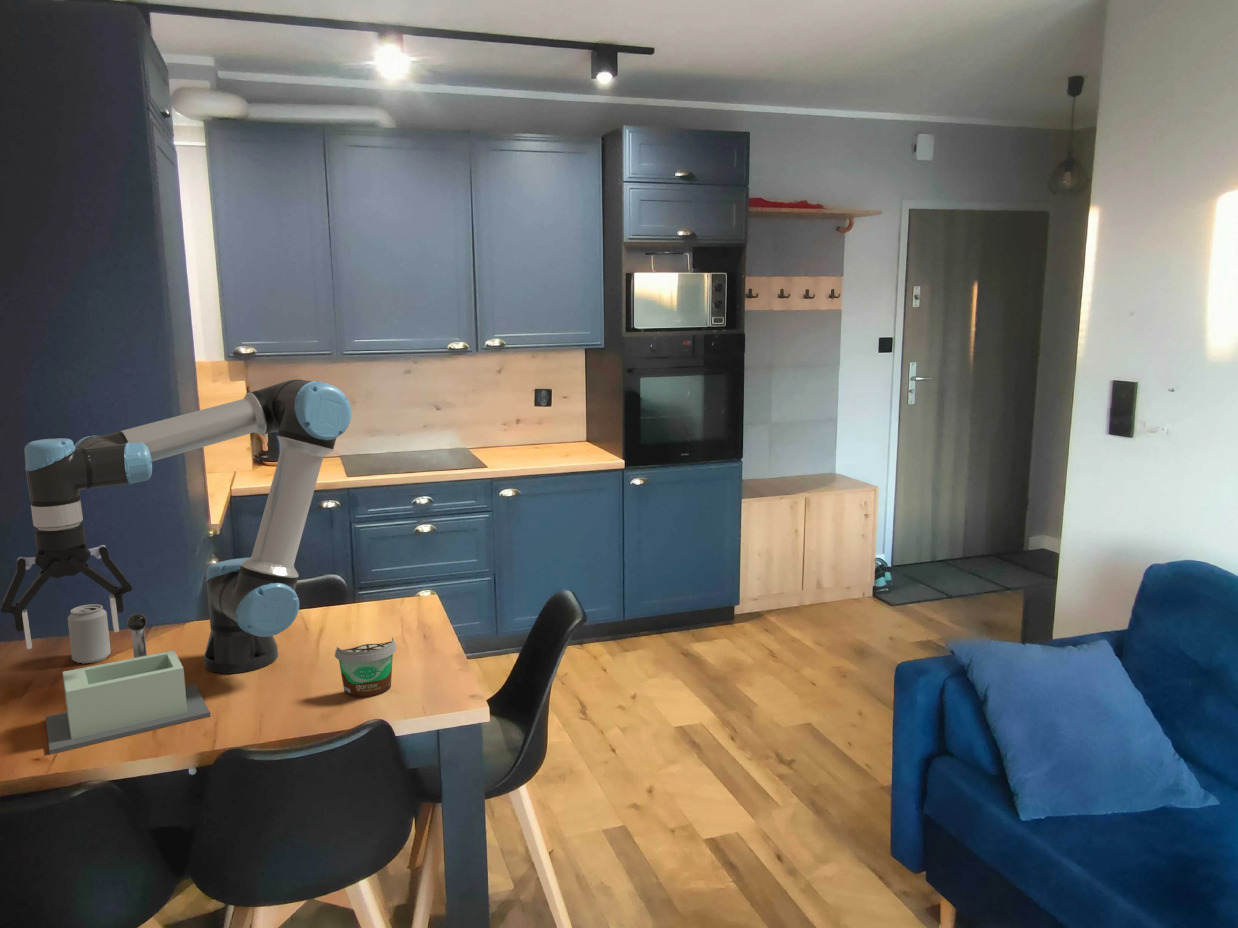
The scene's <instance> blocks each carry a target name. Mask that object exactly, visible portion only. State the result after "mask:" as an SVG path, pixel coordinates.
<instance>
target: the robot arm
mask: <svg viewBox="0 0 1238 928" xmlns="http://www.w3.org/2000/svg"><path fill="white" fill-rule="evenodd" d="M351 419H352V407H351V403H350V401H349V399H348V397H347V396H346V395H345V393H344V392H343V391H342V390H341V389H340V388H338V387H336V386H335V385H332V384H329V383H327V382H325V381H318V380H315V381H314V380H305V379H289V380H285V381H282V382H278V383H277V384H276V383H275V384H273V385H269V386H266V387H263V388H261V389H257V390H253V391H250V392H247V393H245V395H244V397H243V398H242V399H237V400H234V401H230V402H227V403H223V404H219V405H215V406H211V407H208V408H204V409H203V408H202V409H200V410H196V411H195V410H194V411H191V412H188V413H185V414H180V415H177V416H173V417H168V418H165V419H162V420H158V421H153V422H150V423H145V424H141V425H139V426H134V427H131V428H127V429H124V430H120V431H117V432H112V433H108V434H104V435H101V436H100V435H89V436H85V437H83V438H81V439H79V440H78V441H77V442H76V443H75V444H74V441H73V440H72V439H71V438H67V437H66V438H63V437H62V438H60V437H59V438H57V437H56V438H44V439H38V440H32V441H30V442H28V443H27V444H26V445H25V446H24V461H25V466H24V469H25V472H26V473H25V474H26V481H27V486H28V487H27V488H28V493H29V494H28V495H29V500H30V510H31V516H32V524H33V526H34V527H35V528H36V529H35V530H34V538H35V539H34V540H35V546H36V555H35V556H32V557H31V556H27V557H25V556H23V555H19V556H18V557H17V559H16V570H15V572H14V574H13V577H12V580H11V582H10V583H9V586H8V588H7V591H6V593H5V595H4V597H3V600H2V602H1V604H0V612H1V613H2V614H6V613H7V614H12V615H13V616H14V623H15V630H16V631H17V632H22V631H24V637H25V644H26V649H27V650H31V649H33V643H32V638H31V637H32V635H31V630H30V624H29V617H28V616H29V615H28V609H25V608H26V607H27V606H28V604H29V603H30V602H31V601H32V600H33V598H34V597H35V595H37V593H38V592H39V591H40V589H41V588H42V587H43V585H44V584H46V582H47V581H48V580H49V579H50V578H51V577H52V578H55V579H61V578H63V577H66V576H67V577H73V576H76V575H77V574H79V573H80V572H81V573H82V574H84V575H85V576H86V577H88V578H90V579H91V580H92V581H94V582H95V583H96V584H97V585H100V587H102V588H103V589H105V590H106V591H107V592H109V595H108V596H109V597H108V598H109V603H110V604H109V606H110V612H111V622H112V629H113V631H114V633H119V632H120V628H119V627H120V626H119V619H118V614H120V613H123V612H124V602H123V601H124V600H123V596H124V594H126V593H130V592H131V591H132V590H133V586H132V584H131V582H130V581H129V580H128V579H127V577H125V575H124V574H123V573H122V571H121V570H120V569H119V567H118V566H117V565H116V564H115V562H114V561H113V559H111V556H109V552H108V549H107V547H106V545H105V544H99V545H98V546H97V547H92V548H88V546H87V541H86V533H85V525H84V524H83V523H82V521H84V518H83V517H84V516H83V509H82V501H81V495H80V493H81V492H80V491H81V490H90V489H96V488H105V487H112V486H113V487H114V486H122V485H133V484H136V483H141V482H146V481H149V480H150V479H151V476H152V475H153V462H155V461H158V460H159V461H160V460H162V459H165V458H166V459H167V458H169V457H173V456H176V455H179V454H180V455H181V454H183V453H186V452H187V453H188V452H189V451H194V450H197V449H200V448H205V447H208V446H212V445H214V444H217V443H218V444H219V443H222V442H225V441H229V440H232V439H233V440H234V439H235V438H236V439H237V438H240V437H243V436H246V435H250V434H253V433H256V434H257V435H259V436H263V435H267V434H270V433H277V435H276V438H277V440H278V441H279V444H280V445H281V449H280V453H279V455H278V459H277V464H276V466H275V471H274V474H273V478H272V482H271V484H270V488H269V492H268V495H267V499H266V504H265V507H264V510H263V514H262V518H261V521H260V524H259V529H258V532H257V536H256V539H255V543H254V546H253V548H252V549H253V550H252V553H251V556H250V557H242V558H241V557H240V558H239V557H238V558H231V559H228V560H223V561H221V560H220V561H218V562H215V563H213V564H210V565H209V566H208V567H207V568H206V572H205V573H206V576H205V577H206V579H205V583H206V591H207V601H208V603H207V604H208V612H209V626H210V633H209V637H208V640H207V644H206V648H205V651H204V655H203V661H204V668H206V670H208V671H210V672H214V673H217V674H237V673H239V674H240V673H244V672H250V671H255V670H258V669H262V668H264V667H267V666H269V665H270V664H272V663H273V662H275V661H276V660H277V659H278V657H279V652H278V651H279V650H278V649H279V647H278V644H277V642H276V639H275V637H274V636H276V635H278V634H281V633H282V632H284V631H286V630H287V629H288V628H289V627H290V626H291V625H292V624H293V623H294V622H295V620H296V618H297V617H298V613H299V612H300V611H299V610H300V599H299V597H298V594H297V593H296V587H297V584H298V580H299V573H298V571H297V570H296V568H295V562H296V558H297V556H298V555H297V554H298V552H299V547H300V544H301V540H302V536H303V533H304V531H305V526H306V522H307V518H308V514H309V510H310V507H311V504H312V501H313V496H314V492H315V489H316V485H317V481H318V479H319V478H318V477H319V475H320V471H321V467H322V462H323V460H324V457H326V455H329V454H330V453H331V452H333V451H334V448H335V444H336V441H337V439H338V437H340V436H342V435H343V434H344V433H345V432H346V430H347V429H348V428H349V425H350V423H351ZM91 556H94V557H95V558H96V560H101V561H102V563H103V564H104V565H105V567H106V568H107V569H108V571H109V572H110V573H111V574H112V575H113V577H114V578H115V579H116V580H117V582H118V583H119V584H120V585H119V586H117V584H115V583H113V582H112V581H110V580H109V579H107V578H106V577H105V576H103V575H102V574H100V573H99V572H98V571H97V570H95V569H94V568H92V566H90V565H89V564H88V560H89V559H90V558H91ZM32 565H36V566H37V567H39V568H40V569H41V570H40V572H39V573H38V575H37V576H36V577H35V579H34V580H33V582H31V584H30V585H29V586H28V588H27V589H26V591H24V593H23V594H22V595H21V597H20V598H19V599H18V601H16V603H15V604H13V602H14V600H15V598H16V595H17V593H18V590H19V589H20V586H21V585H22V581H23V579H24V577H25V575H26V571H28V570H30V569H31V568H32Z"/></svg>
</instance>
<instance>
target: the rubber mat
mask: <svg viewBox="0 0 1238 928" xmlns="http://www.w3.org/2000/svg"><path fill="white" fill-rule="evenodd" d="M185 691H186V702H187V712H186V713H182V714H178V715H173V716H169V717H165V718H160V719H156V720H152V721H148V722H143V723H139V724H135V725H130V726H126V727H122V728H117V729H113V730H109V731H105V732H100V733H96V734H92V735H87V736H83V737H79V738H74V739H71V734H70V728H69V722H68V716H67V711H64V712H60V713H54V714H50V715H46V716H45V725H46V731H47V741H48V750H49V755H52V754H53V755H54V754H57V753H61V752H66V751H70V750H73V749H74V750H75V749H78V748H83V747H87V746H90V745H95V744H99V743H104V742H108V741H112V740H115V739H121V738H125V737H129V736H133V735H137V734H142V733H145V731H146V732H149V731H154V730H158V729H162V727H163V728H166V727H165V726H167V727H171V726H174V724H175V725H178V723H179V724H184V723H186V721H188V722H192V721H196V720H200V719H204V718H203V717H205V718H208V716H209V717H211V711H210V710H209V708H208V706H207V704H206V702H205V700H204V698H203V696H202V695H201V692H200V690H199V689H198V687H197V685H196V683H195V684H189V685H185ZM199 718H200V719H199ZM195 719H196V720H195ZM191 720H192V721H191ZM183 722H184V723H183ZM170 725H171V726H170Z"/></svg>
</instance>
